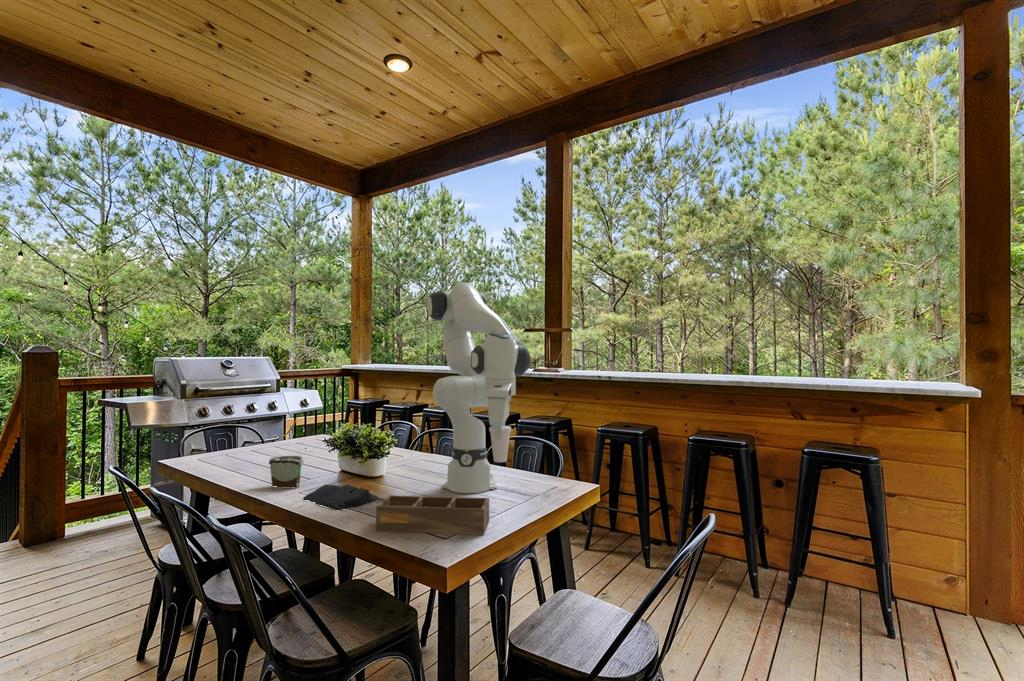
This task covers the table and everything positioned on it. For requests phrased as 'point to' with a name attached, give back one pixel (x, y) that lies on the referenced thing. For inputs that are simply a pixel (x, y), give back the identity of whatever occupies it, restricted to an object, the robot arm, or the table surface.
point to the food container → (286, 471)
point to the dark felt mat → (340, 496)
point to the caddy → (433, 515)
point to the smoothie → (500, 444)
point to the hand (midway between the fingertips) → (499, 436)
